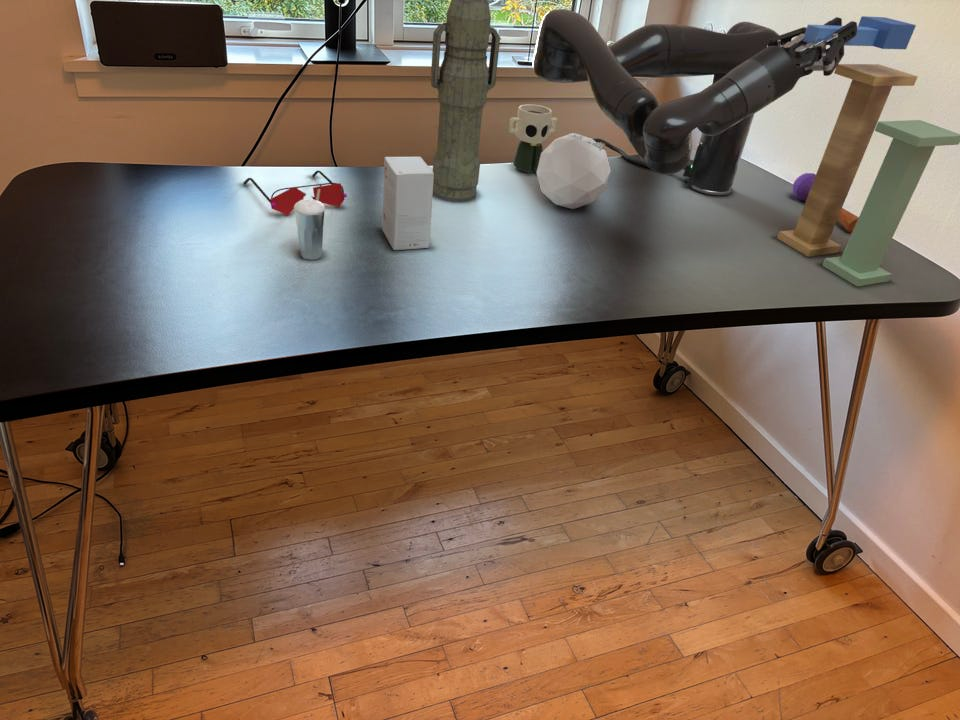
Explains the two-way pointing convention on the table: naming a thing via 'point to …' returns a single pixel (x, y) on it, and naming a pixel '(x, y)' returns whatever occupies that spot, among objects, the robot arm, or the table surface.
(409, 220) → the small box
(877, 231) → the green pillar
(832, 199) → the tall stand
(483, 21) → the green handled vase
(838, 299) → the table surface
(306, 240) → the milkshake
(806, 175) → the kendama
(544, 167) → the geodesic sphere
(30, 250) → the table surface
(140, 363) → the table surface
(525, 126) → the character mug
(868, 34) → the peg
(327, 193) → the glasses
